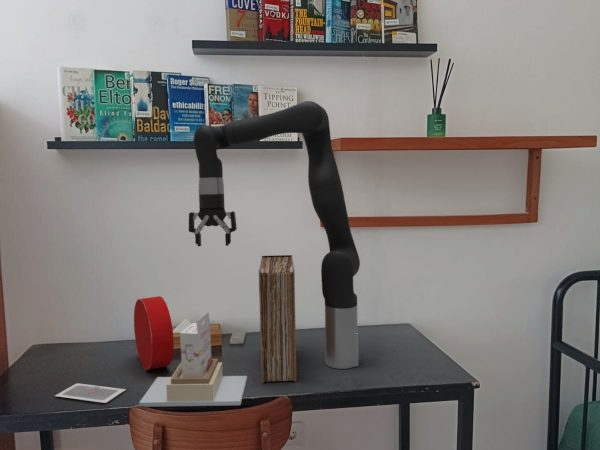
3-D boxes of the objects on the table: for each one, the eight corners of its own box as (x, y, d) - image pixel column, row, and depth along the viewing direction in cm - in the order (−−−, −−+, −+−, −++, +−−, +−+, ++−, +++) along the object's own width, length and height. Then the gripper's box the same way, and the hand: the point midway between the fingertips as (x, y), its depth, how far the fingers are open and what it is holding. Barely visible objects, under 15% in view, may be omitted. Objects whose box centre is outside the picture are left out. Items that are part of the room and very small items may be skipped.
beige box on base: (247, 379, 132) (246, 356, 131) (240, 405, 117) (239, 380, 116) (157, 380, 132) (156, 358, 131) (139, 406, 117) (138, 381, 116)
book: (296, 383, 129) (294, 270, 126) (261, 384, 128) (258, 271, 126) (293, 349, 154) (292, 254, 151) (264, 350, 154) (261, 255, 151)
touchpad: (105, 407, 118) (105, 398, 118) (54, 400, 122) (54, 391, 122) (126, 393, 126) (125, 385, 125) (77, 387, 130) (76, 379, 130)
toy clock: (175, 375, 135) (172, 303, 133) (153, 380, 132) (150, 307, 130) (155, 353, 152) (152, 290, 150) (135, 357, 149) (132, 292, 147)
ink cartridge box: (194, 366, 129) (191, 310, 127) (212, 366, 128) (210, 311, 126) (181, 379, 120) (178, 320, 119) (200, 380, 119) (198, 321, 118)
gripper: (236, 192, 153) (238, 243, 155) (190, 192, 153) (192, 244, 155) (233, 192, 146) (234, 247, 147) (185, 193, 146) (187, 247, 147)
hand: (213, 245), depth 151 cm, fingers open, 8 cm apart
